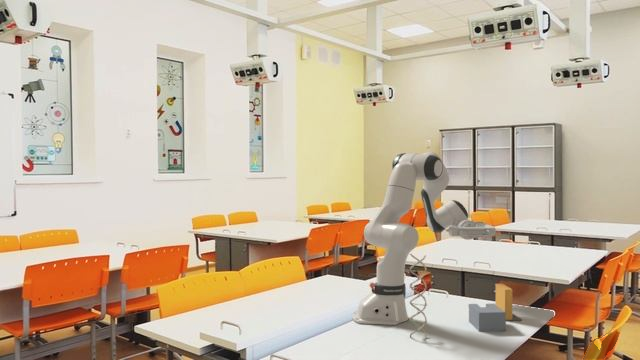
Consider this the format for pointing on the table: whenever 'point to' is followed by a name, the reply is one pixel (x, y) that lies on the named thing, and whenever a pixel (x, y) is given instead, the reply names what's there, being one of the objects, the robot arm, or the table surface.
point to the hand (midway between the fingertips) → (477, 233)
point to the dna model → (419, 295)
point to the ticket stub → (504, 299)
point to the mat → (514, 318)
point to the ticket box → (487, 317)
